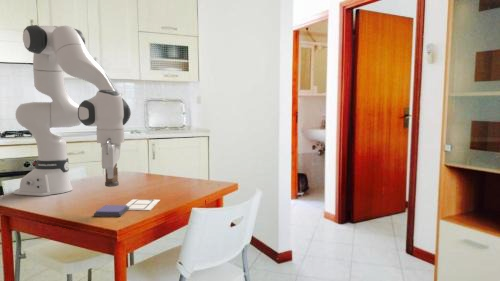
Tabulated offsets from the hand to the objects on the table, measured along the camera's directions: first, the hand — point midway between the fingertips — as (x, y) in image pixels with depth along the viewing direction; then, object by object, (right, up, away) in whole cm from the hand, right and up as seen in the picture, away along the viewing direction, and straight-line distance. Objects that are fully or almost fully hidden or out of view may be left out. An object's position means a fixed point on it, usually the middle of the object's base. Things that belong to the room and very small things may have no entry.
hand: (111, 176), depth 124 cm
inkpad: (0, -13, +1) cm, 13 cm away
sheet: (+7, -12, +10) cm, 17 cm away
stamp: (0, -3, 0) cm, 3 cm away
